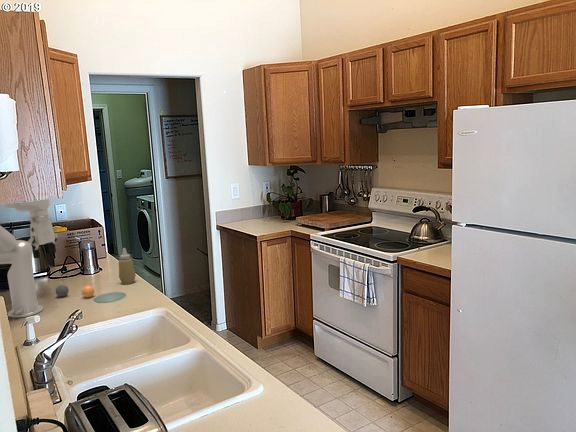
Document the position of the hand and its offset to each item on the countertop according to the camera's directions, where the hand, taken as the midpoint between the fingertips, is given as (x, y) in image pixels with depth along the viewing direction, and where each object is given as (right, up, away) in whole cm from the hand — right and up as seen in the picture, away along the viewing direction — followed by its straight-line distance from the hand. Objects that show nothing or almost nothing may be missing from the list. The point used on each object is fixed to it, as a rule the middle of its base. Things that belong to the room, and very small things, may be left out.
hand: (45, 255), depth 221 cm
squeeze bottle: (+33, -16, +17) cm, 40 cm away
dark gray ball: (+8, -17, 0) cm, 18 cm away
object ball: (+22, -16, -3) cm, 27 cm away
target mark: (+32, -19, -5) cm, 38 cm away
